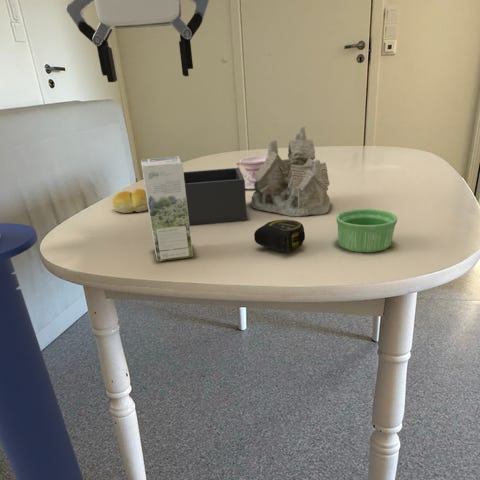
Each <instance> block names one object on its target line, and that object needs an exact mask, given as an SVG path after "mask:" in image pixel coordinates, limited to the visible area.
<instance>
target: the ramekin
mask: <svg viewBox="0 0 480 480" xmlns="http://www.w3.org/2000/svg"><path fill="white" fill-rule="evenodd" d="M335 220H336V224H337V241H338V245H339V246H340V247H341V248H343V249H344V250H348V251H351V252H357V253H376V252H382V251H384V250H386V249H388V248H389V247H390V246H391V245H392V241H393V238H394V237H393V236H394V231H395V226H396V224H397V222H398V216H397V215H396V214H394V213H392V212H391V211H387V210H382V209H376V208H375V209H373V208H358V209H350V210H346V211H342V212H340V213H338V214H337V215H336V217H335Z"/></svg>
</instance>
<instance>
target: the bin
mask: <svg viewBox="0 0 480 480" xmlns="http://www.w3.org/2000/svg"><path fill="white" fill-rule="evenodd" d="M239 168H240V167H239ZM239 168H237V167H231V168H217V169H205V170H192V171H183V172H184V181H185V190H186V199H187V208H188V217H189V226H193V225H205V224H216V223H217V224H218V223H228V222H239V221H247V220H248V217H247V216H248V215H247V199H246V197H247V196H246V189H245V180H244V179H245V177H243V176H242V174H241V172H242V170H241V168H240V169H239Z"/></svg>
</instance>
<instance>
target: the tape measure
mask: <svg viewBox="0 0 480 480" xmlns="http://www.w3.org/2000/svg"><path fill="white" fill-rule="evenodd" d="M253 237H254V242H255V243H256V244H257V245H259V246H262V247H264V248H268V249H272V250H273V251H275V252H276V251H278V252H282V253H288V252H290V251H291V250H294V249H298V248H300V247H301V246H302V245H303V243H304V242H305V239H306V234H305V227H304V224H303V223H302V222H300V221H297V220H293V219H276V220H271V221H268V222H266V223H265V224H264V225H262V226H260V227H259V228H257V229H256V230H255V231H254V233H253Z"/></svg>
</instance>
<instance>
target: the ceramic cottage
mask: <svg viewBox="0 0 480 480" xmlns="http://www.w3.org/2000/svg"><path fill="white" fill-rule="evenodd" d="M305 128H306V127H304V126H300V127H299V128H298V130H299V131H298V132H296V133H295V136H294V139H290V140H289V142H288V148H287V149H288V150H287V151H288V152H287V158H286V159H282V158H281V157H280V155H279V149H278V141H277V140H276V139H269V141H268V145H267V156H268V157H267V158H266V159H265V160H266V161H265V162H264V164H263V165H262V166H261V167H260V170H259V171H258V172H257V173H256V175H254V176H253V177H254V178H255V180H256V182H255V184H254V186H255V188H254V189H253V190H254V192H253V193H252V196H251V202H250V206H251V208H254V209H255V210H258V211H259V210H260V211H264V212H267V213H268V212H269V213H276V214H279V215H280V214H281V215H284V216H289V217H305V216H310V215H315V216H316V215H324V214H328V212H329V211H330V207H331V204H330V200H331V199H330V196H329V194H328V190H329V186H330V179H329V174H328V168H327V163H326V161H325V162H321V160H320V159H316V155H315V154H316V149H315V145H314V140H313V138H312V139H307V134H306V129H305Z"/></svg>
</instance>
